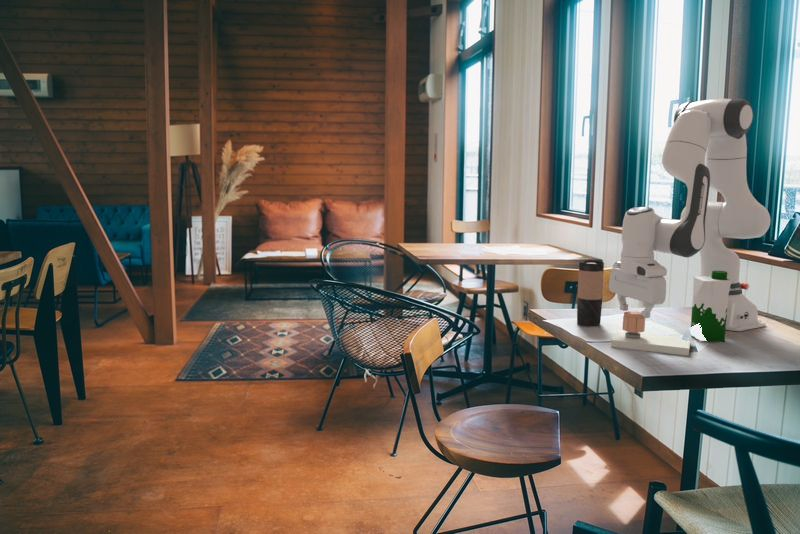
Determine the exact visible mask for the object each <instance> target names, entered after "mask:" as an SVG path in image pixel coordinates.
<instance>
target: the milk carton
mask: <svg viewBox="0 0 800 534" xmlns="http://www.w3.org/2000/svg"><path fill="white" fill-rule="evenodd" d="M692 281H693V286H692V304H691V316H690V317H691V321H690V328H691V327H692V326H694V325H696V324H698V323H700V324H699V325H701V327H702V334H703V335H704V337H705V338H706V340H707V341H708V342H707V343H709V342H710V343H725V342H726V332H727V330H726V319H727V306H728V295H729V290H730V285H731V281H730V280H728V279H727V272H725V271H712V277H706V276H702V277H700V276H693V280H692ZM701 327H700V328H701Z"/></svg>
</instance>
